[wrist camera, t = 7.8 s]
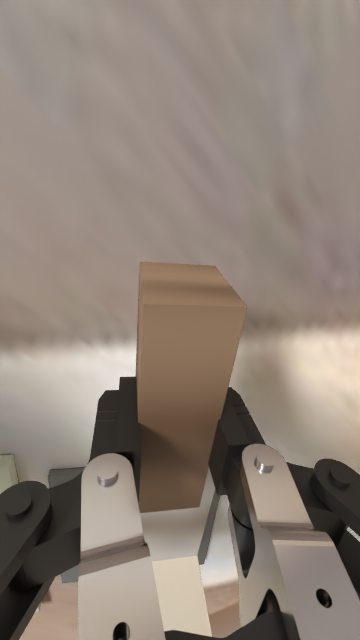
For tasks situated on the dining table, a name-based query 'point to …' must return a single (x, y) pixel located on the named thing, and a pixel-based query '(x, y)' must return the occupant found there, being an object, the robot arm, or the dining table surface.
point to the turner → (181, 396)
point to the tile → (181, 595)
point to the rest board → (8, 478)
